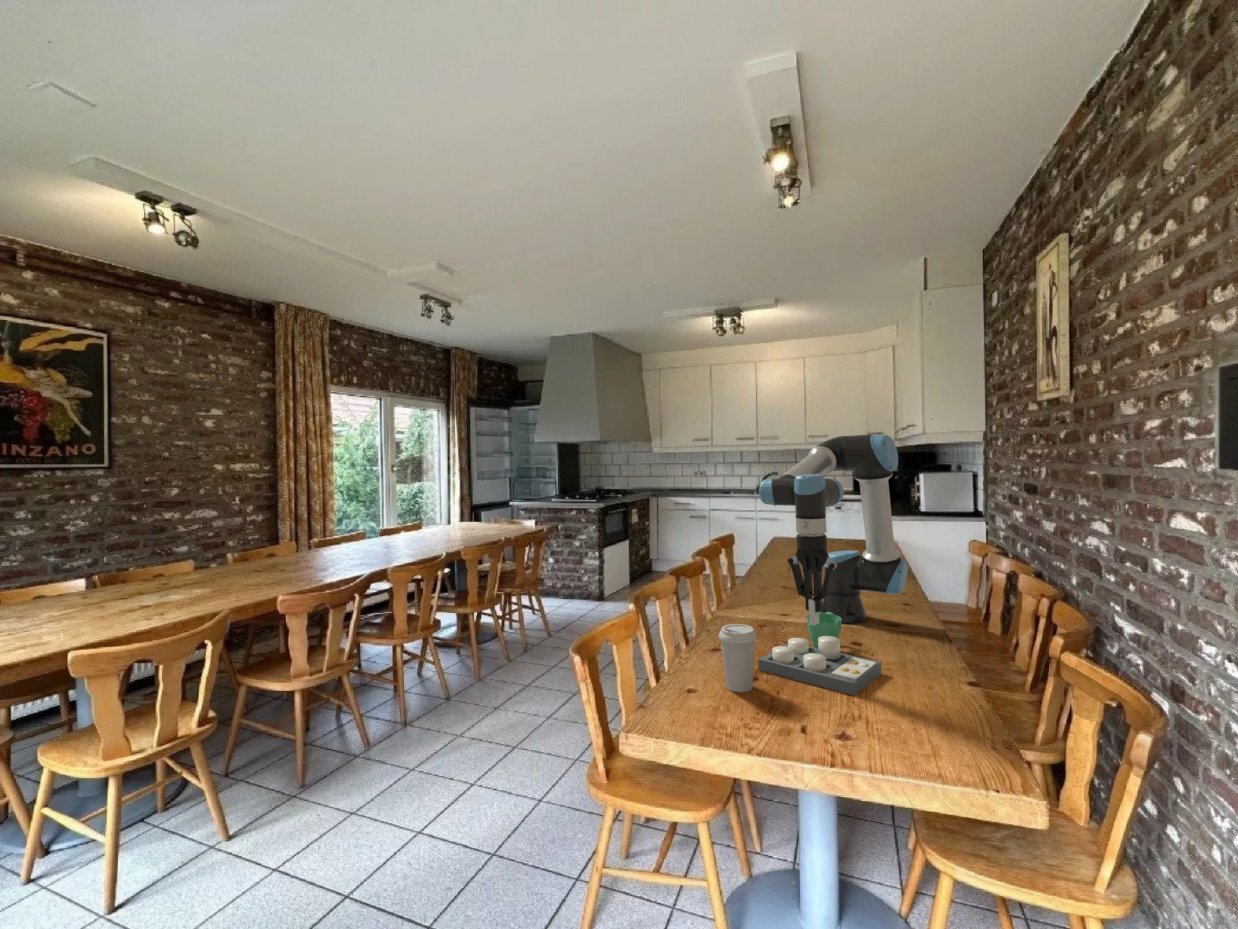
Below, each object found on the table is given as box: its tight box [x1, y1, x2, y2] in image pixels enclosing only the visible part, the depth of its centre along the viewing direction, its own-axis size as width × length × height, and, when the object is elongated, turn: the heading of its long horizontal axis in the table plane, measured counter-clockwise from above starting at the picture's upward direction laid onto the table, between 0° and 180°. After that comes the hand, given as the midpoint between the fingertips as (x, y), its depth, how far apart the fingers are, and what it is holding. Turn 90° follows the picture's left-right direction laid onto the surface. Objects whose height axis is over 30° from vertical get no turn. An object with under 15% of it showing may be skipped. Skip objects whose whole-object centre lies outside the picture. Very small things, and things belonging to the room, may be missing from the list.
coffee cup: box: [718, 623, 758, 694], centre depth 145 cm, size 10×10×15 cm
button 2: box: [787, 637, 810, 655], centre depth 162 cm, size 6×6×4 cm
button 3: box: [803, 653, 826, 673], centre depth 149 cm, size 6×6×4 cm
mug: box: [805, 612, 842, 648], centre depth 171 cm, size 15×10×10 cm
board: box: [758, 642, 882, 697], centre depth 153 cm, size 18×26×4 cm
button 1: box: [771, 645, 794, 665], centre depth 156 cm, size 6×6×4 cm
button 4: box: [818, 636, 841, 659], centre depth 156 cm, size 6×6×4 cm
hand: (814, 623), depth 150 cm, fingers closed
